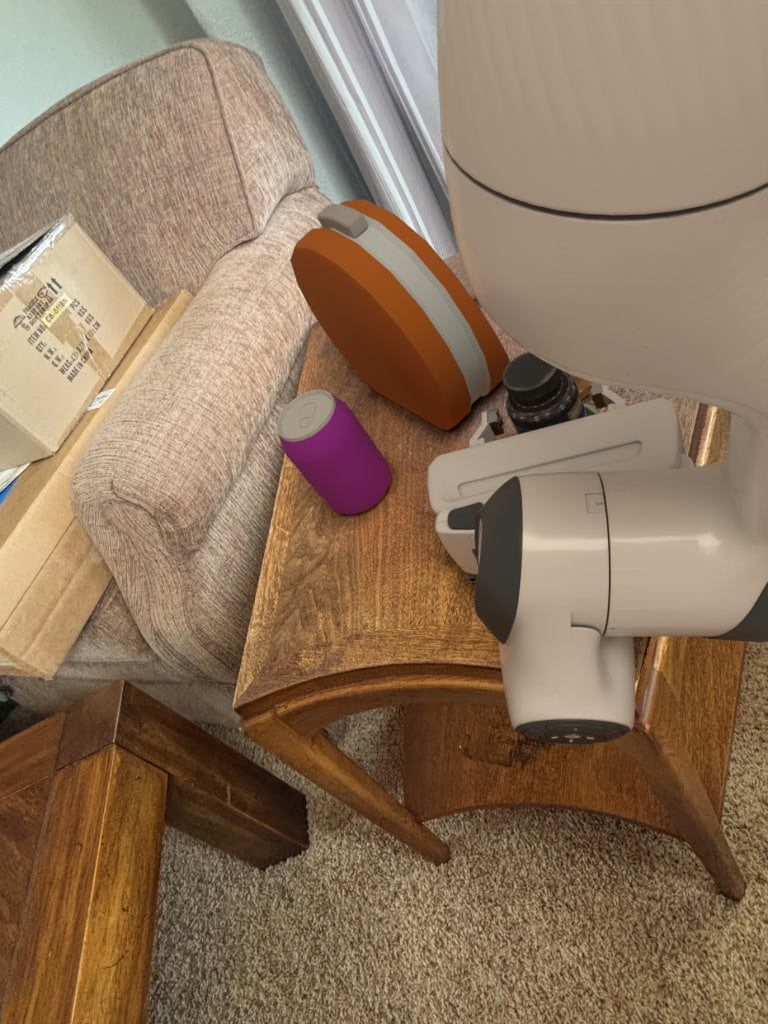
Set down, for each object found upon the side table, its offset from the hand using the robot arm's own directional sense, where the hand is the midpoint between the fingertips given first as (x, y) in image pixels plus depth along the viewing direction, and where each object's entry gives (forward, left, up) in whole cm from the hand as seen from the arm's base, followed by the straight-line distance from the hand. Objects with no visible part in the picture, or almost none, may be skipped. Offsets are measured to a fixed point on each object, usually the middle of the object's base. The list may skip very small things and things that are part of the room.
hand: (544, 400), depth 63 cm
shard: (-6, -8, -7) cm, 12 cm away
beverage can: (+21, -5, -7) cm, 23 cm away
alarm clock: (+10, -17, -7) cm, 21 cm away
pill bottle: (0, +1, -7) cm, 7 cm away
